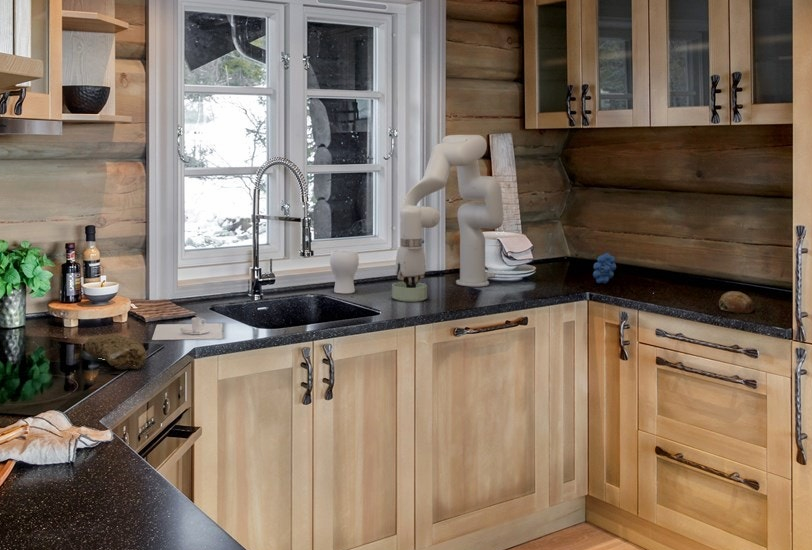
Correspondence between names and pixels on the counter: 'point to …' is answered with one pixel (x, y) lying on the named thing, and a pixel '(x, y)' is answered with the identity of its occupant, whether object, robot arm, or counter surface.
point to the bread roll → (736, 302)
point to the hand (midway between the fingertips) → (411, 295)
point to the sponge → (116, 350)
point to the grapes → (604, 268)
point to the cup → (344, 269)
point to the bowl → (409, 292)
